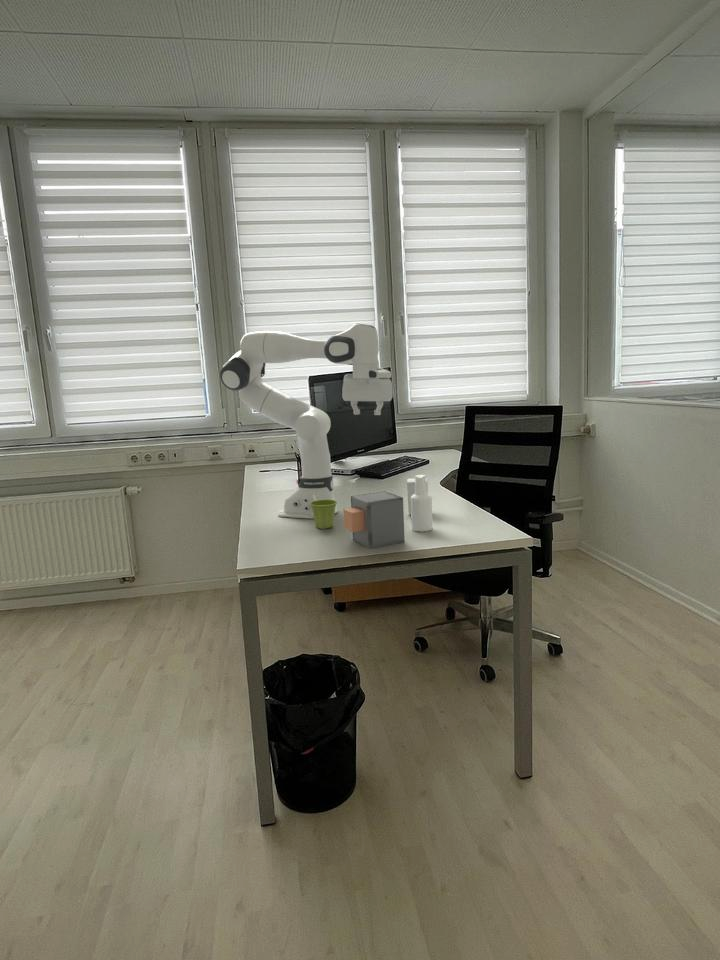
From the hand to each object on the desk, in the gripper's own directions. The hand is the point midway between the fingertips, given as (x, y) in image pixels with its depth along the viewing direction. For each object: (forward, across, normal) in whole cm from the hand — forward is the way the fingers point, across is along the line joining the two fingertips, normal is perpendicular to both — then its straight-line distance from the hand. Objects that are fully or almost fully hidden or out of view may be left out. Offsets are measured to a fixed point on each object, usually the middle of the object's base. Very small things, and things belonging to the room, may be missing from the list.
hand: (366, 414), depth 201 cm
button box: (+38, +17, -14) cm, 44 cm away
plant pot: (+38, -10, -12) cm, 41 cm away
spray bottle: (+38, +20, +4) cm, 43 cm away
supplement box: (+38, +6, +21) cm, 43 cm away
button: (+33, +14, -22) cm, 42 cm away
